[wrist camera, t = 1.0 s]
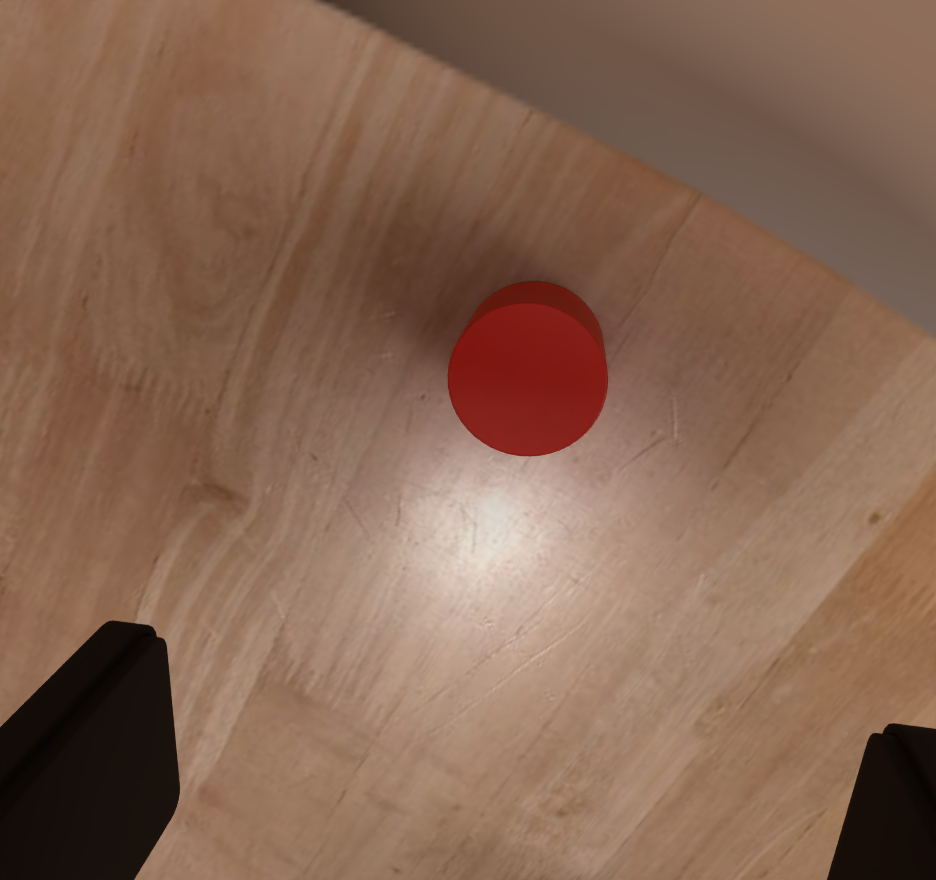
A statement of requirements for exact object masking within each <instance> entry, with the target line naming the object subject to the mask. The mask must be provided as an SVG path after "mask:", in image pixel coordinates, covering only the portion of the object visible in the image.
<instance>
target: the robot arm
mask: <svg viewBox="0 0 936 880" xmlns="http://www.w3.org/2000/svg"><path fill="white" fill-rule="evenodd" d="M179 794H180V782H179V772H178V761H177V750H176V739H175V729H174V718H173V707H172V696H171V686H170V675H169V664H168V653H167V645H166V642H165V640H164V639H163V638H159V637H157V635H156V632H155V630H154V628H153V627H151V626H149V625H143V624H136V623H128V622H120V621H108V622H106V623H105V624H104V625H102V626H101V627H100V628H99V629H98V630H97V631H96V632H95V633H94V634H93V635H92V636H91V637H90V638H89V639H88V640H87V641H86V642H85V643H84V644H83V645H82V646H81V647H80V648H79V649H78V650H77V651H76V652H75V653H74V654H73V655H72V656H71V657H70V658H69V659H68V660H67V661H66V662H65V663H64V664H63V665H62V666H61V667H60V668H59V669H58V670H57V671H56V672H55V673H54V674H53V675H52V676H51V677H50V678H49V679H48V680H47V681H46V682H45V683H44V684H43V685H42V686H41V687H40V688H39V689H38V690H37V691H36V692H35V693H34V694H33V695H32V696H31V697H30V698H29V699H28V700H27V701H26V702H25V703H24V704H23V705H22V706H21V707H20V708H19V709H18V710H17V711H16V712H15V713H14V714H13V715H12V716H11V717H10V718H9V719H8V720H7V721H6V722H5V723H4V724H3V725H2V726H1V727H0V880H134V879H135V877H136V876H137V874H138V872H139V871H140V869H141V867H142V866H143V864H144V863H145V861H146V859H147V858H148V856H149V854H150V853H151V851H152V849H153V848H154V846H155V845H156V843H157V841H158V840H159V838H160V836H161V835H162V833H163V832H164V830H165V828H166V827H167V825H168V823H169V822H170V820H171V818H172V816H173V815H174V813H175V810H176V807H177V804H178V800H179ZM827 880H936V729H933V728H925V727H918V726H910V725H902V724H895V723H892V724H888V725H887V726H886V728H885V729H884V731H883V733H882V734H880V733H873V734H872V735H871V736H870V737H869V739H868V742H867V745H866V749H865V752H864V755H863V759H862V762H861V766H860V769H859V772H858V776H857V779H856V783H855V786H854V789H853V793H852V796H851V800H850V803H849V806H848V810H847V813H846V817H845V820H844V823H843V827H842V830H841V834H840V837H839V841H838V844H837V847H836V851H835V854H834V858H833V861H832V864H831V868H830V871H829V875H828V878H827Z"/></svg>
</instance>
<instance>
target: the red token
mask: <svg viewBox="0 0 936 880" xmlns="http://www.w3.org/2000/svg"><path fill="white" fill-rule="evenodd" d="M607 387H608V374H607V365H606V357H605V349H604V341H603V336H602V332H601V329H600V326H599V324H598V321H597V319H596V318H595V316H594V314H593V313H592V311H591V310H590V309H589V307H588V306H587V305H586V304H585V303H584V302H583V301H582V300H581V299H580V298H579V297H577V296H576V295H575V294H573V293H572V292H570V291H568V290H567V289H564V288H562V287H560V286H557V285H554V284H550V283H545V282H522V283H517V284H514V285H510V286H508V287H505V288H503V289H501V290H499V291H497V292H496V293H494V294H493V295H491V296H490V297H489V298H487V299H486V300H485V301H484V302H483V303H482V304H481V305H480V307H479V308H478V309H477V311H476V312H475V313H474V315H473V317H472V318H471V320H470V322H469V323H468V325H467V327H466V328H465V330H464V331H463V333H462V335H461V336H460V338H459V340H458V342H457V343H456V345H455V347H454V350H453V352H452V355H451V358H450V362H449V367H448V389H449V395H450V398H451V402H452V405H453V407H454V409H455V412H456V414H457V415H458V417H459V419H460V420H461V422H462V423H463V424H464V426H465V427H466V428H467V429H468V430H469V431H470V432H471V433H472V434H473V435H474V436H475V437H476V438H477V439H479V440H480V441H481V442H483V443H484V444H486V445H488V446H490V447H491V448H493V449H496V450H498V451H501V452H504V453H507V454H511V455H518V456H540V455H545V454H550V453H553V452H556V451H559V450H561V449H564V448H566V447H568V446H570V445H571V444H573V443H574V442H576V441H577V440H578V439H580V438H581V437H582V436H583V435H584V434H585V433H586V432H587V431H588V430H589V429H590V428H591V427H592V425H593V424H594V422H595V421H596V419H597V418H598V416H599V414H600V412H601V410H602V408H603V405H604V402H605V399H606V394H607Z"/></svg>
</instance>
